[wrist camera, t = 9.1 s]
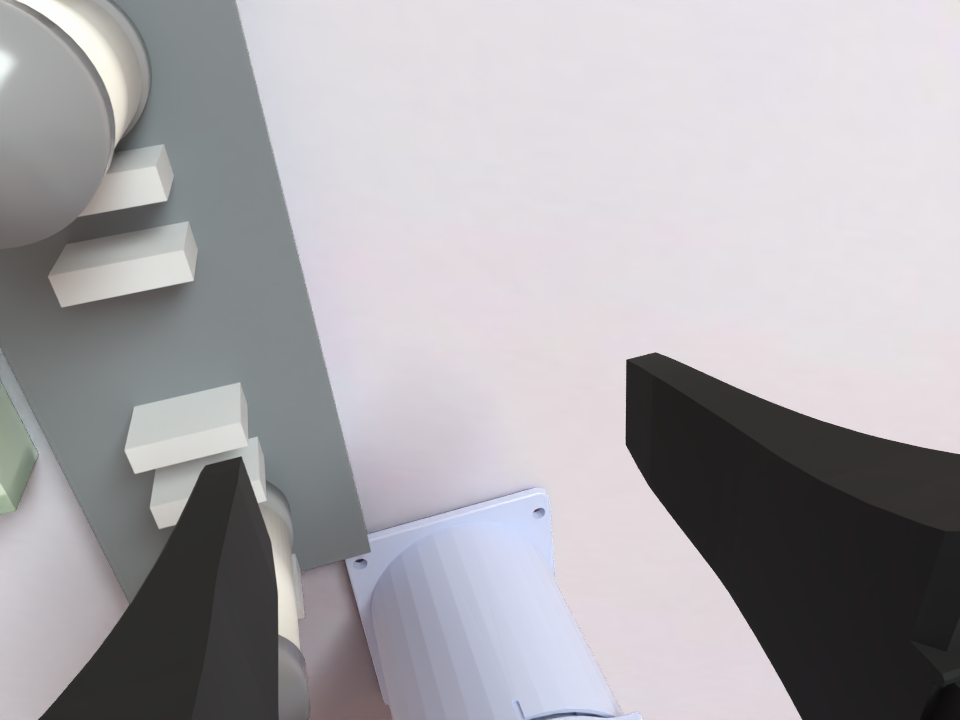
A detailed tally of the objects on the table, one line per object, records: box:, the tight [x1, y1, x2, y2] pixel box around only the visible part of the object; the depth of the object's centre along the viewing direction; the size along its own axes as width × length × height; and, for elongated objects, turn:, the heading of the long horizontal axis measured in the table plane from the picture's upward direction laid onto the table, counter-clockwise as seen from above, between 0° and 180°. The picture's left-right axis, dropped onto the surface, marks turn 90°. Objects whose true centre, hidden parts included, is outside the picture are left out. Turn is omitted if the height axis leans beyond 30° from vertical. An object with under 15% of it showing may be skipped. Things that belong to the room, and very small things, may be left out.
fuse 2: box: [173, 481, 310, 720], centre depth 21 cm, size 4×4×8 cm
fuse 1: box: [0, 0, 152, 249], centre depth 14 cm, size 4×4×8 cm
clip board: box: [0, 0, 371, 620], centre depth 20 cm, size 20×8×3 cm, turn 7°
